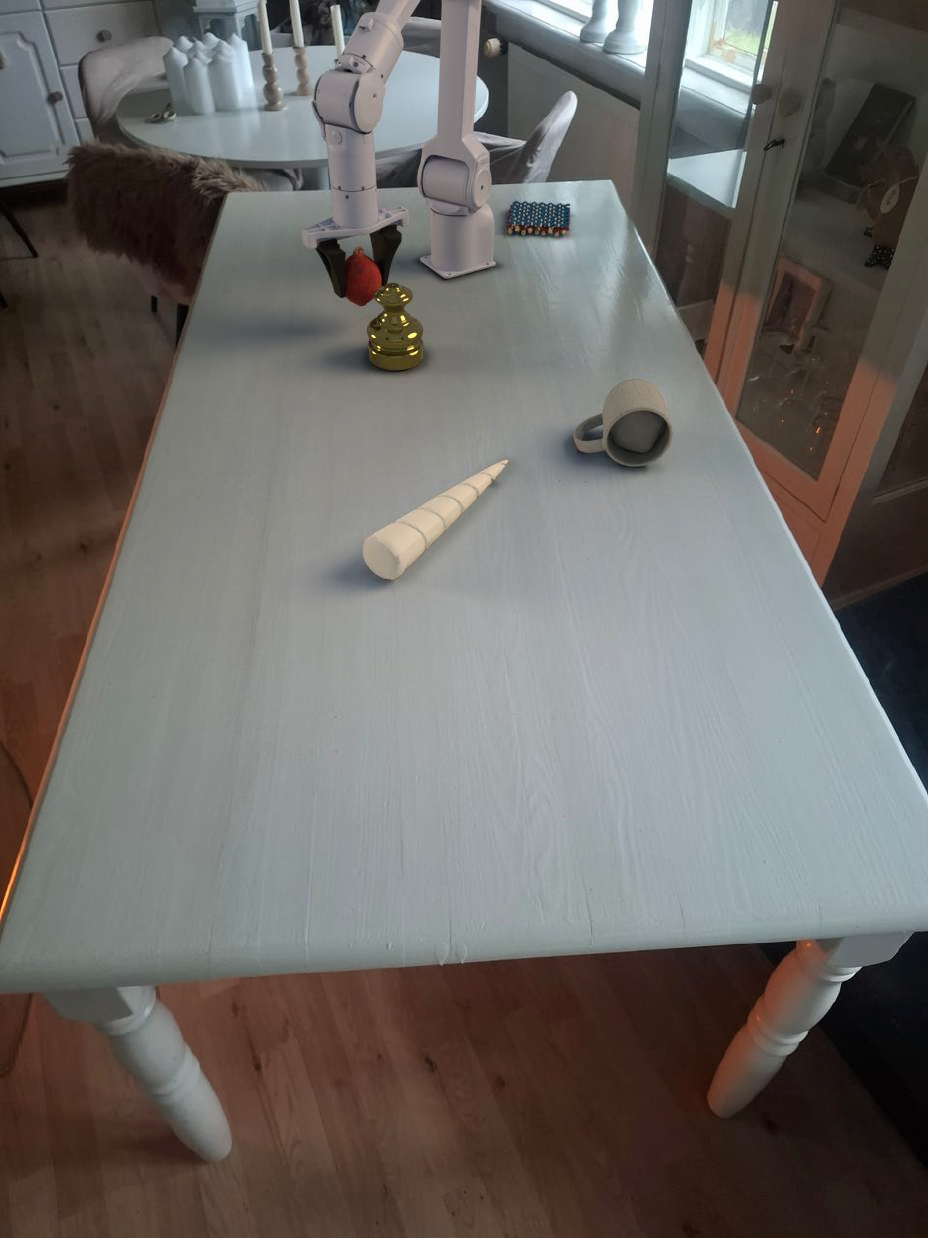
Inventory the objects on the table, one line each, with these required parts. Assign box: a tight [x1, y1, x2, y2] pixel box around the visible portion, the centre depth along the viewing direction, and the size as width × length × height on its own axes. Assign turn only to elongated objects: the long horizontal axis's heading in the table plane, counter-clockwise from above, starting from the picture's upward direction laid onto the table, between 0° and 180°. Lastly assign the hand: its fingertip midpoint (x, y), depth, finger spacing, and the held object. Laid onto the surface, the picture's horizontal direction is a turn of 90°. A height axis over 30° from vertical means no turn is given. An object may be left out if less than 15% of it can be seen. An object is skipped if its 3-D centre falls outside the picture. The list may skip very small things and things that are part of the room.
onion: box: [344, 246, 382, 307], centre depth 116 cm, size 6×6×8 cm
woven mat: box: [506, 200, 571, 238], centre depth 147 cm, size 10×11×2 cm
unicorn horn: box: [362, 459, 509, 581], centre depth 91 cm, size 5×24×5 cm, turn 142°
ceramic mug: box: [573, 378, 674, 468], centre depth 100 cm, size 11×8×8 cm
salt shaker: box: [366, 282, 424, 372], centre depth 112 cm, size 7×7×10 cm
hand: (361, 289), depth 117 cm, fingers closed on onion, 6 cm apart
